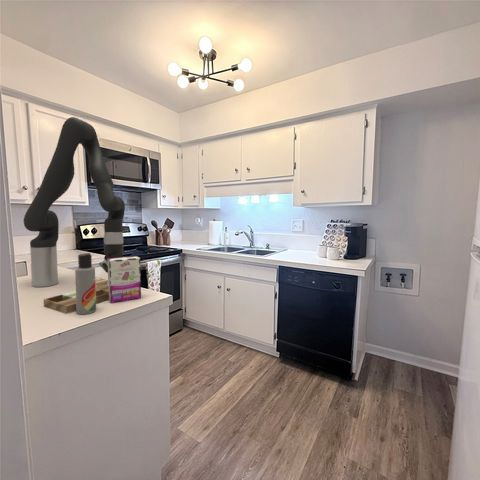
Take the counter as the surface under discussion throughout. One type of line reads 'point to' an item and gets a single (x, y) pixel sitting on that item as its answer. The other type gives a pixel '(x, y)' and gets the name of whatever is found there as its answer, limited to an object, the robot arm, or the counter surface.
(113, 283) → the candy bar box
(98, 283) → the beech block
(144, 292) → the counter surface
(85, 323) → the counter surface
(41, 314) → the counter surface
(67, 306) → the board
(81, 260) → the lotion bottle
